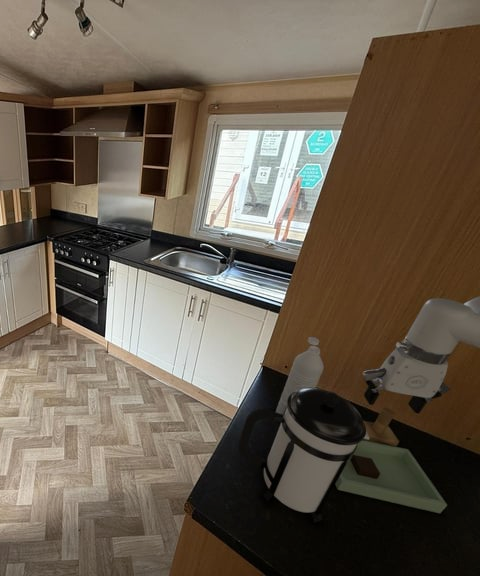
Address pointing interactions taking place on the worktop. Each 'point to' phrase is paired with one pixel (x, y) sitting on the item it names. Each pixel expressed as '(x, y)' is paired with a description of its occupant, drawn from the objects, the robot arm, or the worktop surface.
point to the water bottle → (302, 373)
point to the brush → (381, 429)
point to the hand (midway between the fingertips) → (390, 404)
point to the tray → (392, 478)
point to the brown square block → (365, 466)
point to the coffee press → (307, 448)
